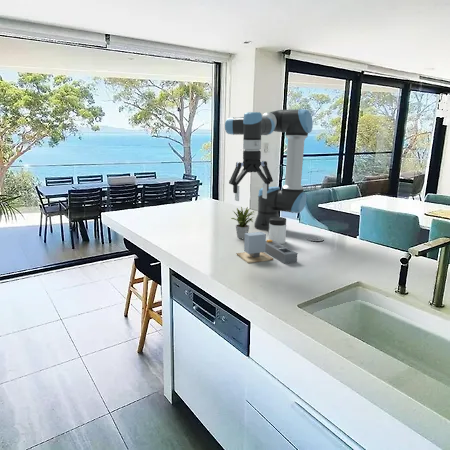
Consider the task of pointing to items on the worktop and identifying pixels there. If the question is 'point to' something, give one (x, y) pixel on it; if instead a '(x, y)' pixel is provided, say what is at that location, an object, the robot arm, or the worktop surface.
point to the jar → (277, 229)
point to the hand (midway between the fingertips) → (250, 199)
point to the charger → (254, 243)
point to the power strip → (280, 252)
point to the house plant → (242, 222)
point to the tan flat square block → (250, 259)
